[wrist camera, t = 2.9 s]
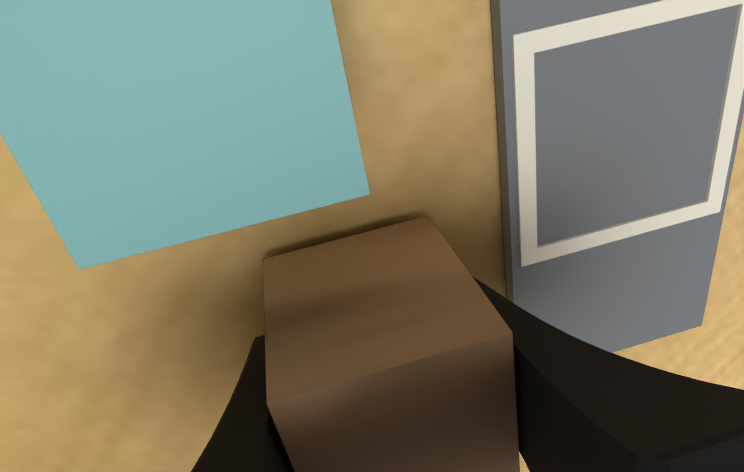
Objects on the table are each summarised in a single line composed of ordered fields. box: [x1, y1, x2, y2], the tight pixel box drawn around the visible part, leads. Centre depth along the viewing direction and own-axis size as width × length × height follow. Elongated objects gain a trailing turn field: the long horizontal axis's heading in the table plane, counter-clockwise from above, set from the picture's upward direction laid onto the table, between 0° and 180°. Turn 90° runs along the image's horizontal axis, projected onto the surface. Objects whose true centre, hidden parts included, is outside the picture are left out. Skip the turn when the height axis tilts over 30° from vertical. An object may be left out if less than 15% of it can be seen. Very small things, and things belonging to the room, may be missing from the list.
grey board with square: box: [491, 0, 744, 353], centre depth 14 cm, size 16×7×1 cm, turn 10°
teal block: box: [0, 0, 370, 269], centre depth 9 cm, size 4×4×5 cm
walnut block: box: [263, 216, 520, 472], centre depth 12 cm, size 4×4×5 cm
